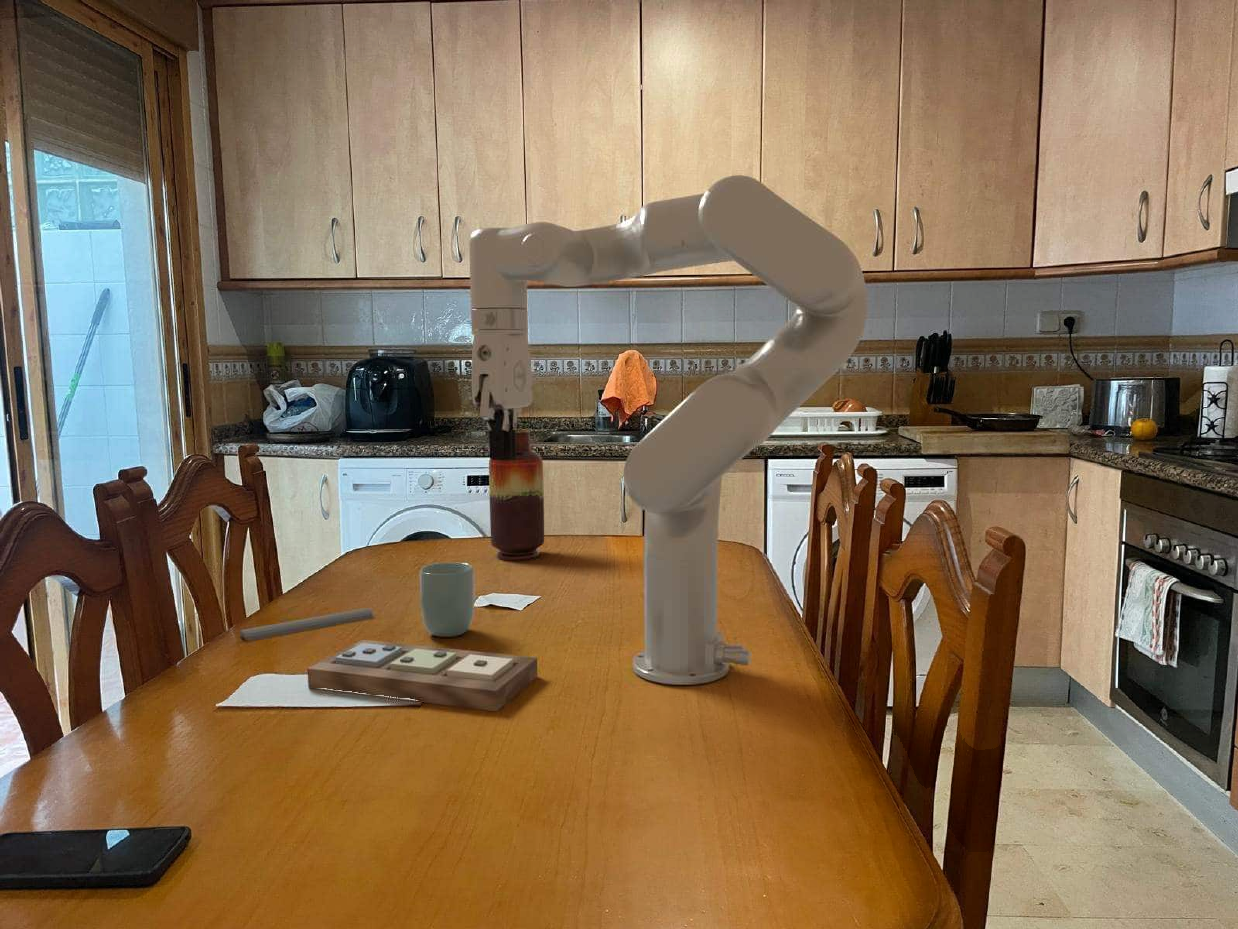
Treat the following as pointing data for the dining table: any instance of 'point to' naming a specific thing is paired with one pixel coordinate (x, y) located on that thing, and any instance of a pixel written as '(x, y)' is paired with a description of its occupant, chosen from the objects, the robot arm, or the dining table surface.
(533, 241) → the robot arm
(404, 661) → the tile
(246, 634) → the gray half cylinder
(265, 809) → the dining table surface
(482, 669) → the tile
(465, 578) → the cup
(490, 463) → the vase
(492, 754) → the dining table surface
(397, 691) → the board
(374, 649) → the tile
